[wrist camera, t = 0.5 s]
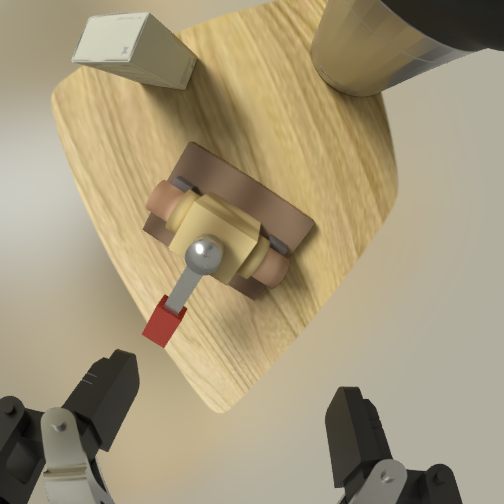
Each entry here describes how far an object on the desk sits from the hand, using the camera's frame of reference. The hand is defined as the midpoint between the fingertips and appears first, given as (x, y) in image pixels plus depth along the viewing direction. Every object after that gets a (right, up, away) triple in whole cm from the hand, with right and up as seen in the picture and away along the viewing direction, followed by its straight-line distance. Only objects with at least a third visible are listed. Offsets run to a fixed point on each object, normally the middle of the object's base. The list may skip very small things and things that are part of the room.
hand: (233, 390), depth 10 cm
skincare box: (-9, +25, +14) cm, 30 cm away
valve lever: (-5, +2, +14) cm, 15 cm away
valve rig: (-2, +9, +20) cm, 22 cm away
